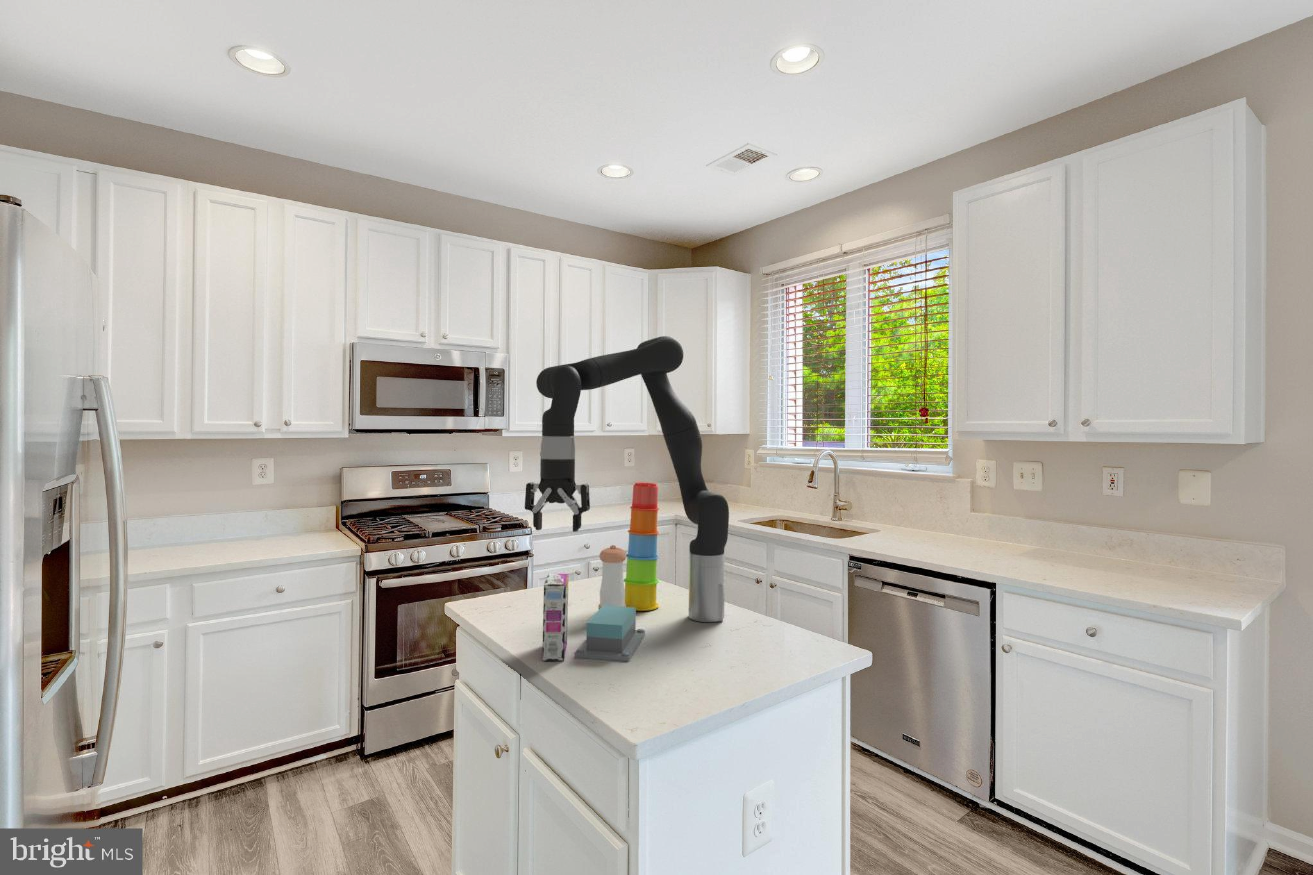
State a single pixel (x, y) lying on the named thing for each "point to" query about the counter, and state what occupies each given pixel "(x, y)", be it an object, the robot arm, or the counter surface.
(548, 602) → the candy bar box
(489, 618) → the counter surface
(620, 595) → the pepper shaker
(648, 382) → the robot arm
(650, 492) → the stacking cups
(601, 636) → the teal gray mounted block
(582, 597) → the counter surface
